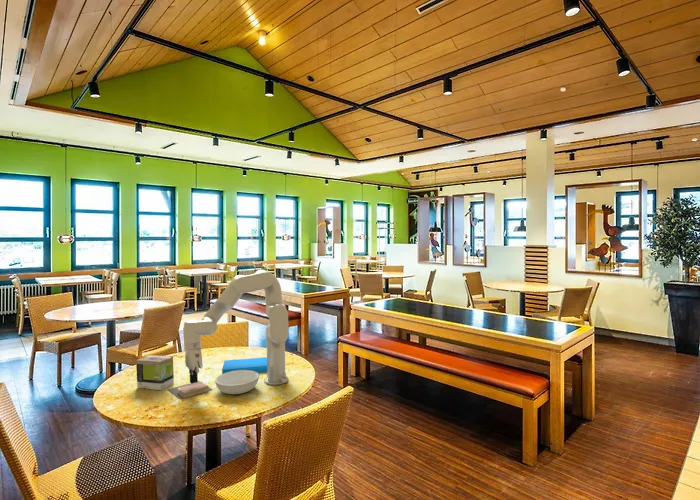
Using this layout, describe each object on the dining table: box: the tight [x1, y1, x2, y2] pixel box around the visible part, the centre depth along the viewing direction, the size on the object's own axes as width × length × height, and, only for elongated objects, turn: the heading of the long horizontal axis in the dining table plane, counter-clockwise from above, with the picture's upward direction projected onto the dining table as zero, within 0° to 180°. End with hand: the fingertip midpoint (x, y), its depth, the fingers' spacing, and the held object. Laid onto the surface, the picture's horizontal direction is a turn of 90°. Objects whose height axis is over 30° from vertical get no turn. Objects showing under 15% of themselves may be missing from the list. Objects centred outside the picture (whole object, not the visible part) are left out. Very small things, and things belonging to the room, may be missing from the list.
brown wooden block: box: [178, 381, 210, 399], centre depth 200 cm, size 3×12×8 cm
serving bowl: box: [214, 370, 259, 395], centre depth 203 cm, size 21×21×7 cm
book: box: [221, 356, 267, 375], centre depth 234 cm, size 17×4×25 cm
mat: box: [167, 380, 213, 400], centre depth 203 cm, size 16×16×1 cm
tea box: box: [135, 354, 175, 391], centre depth 210 cm, size 15×10×15 cm
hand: (193, 382), depth 199 cm, fingers closed
